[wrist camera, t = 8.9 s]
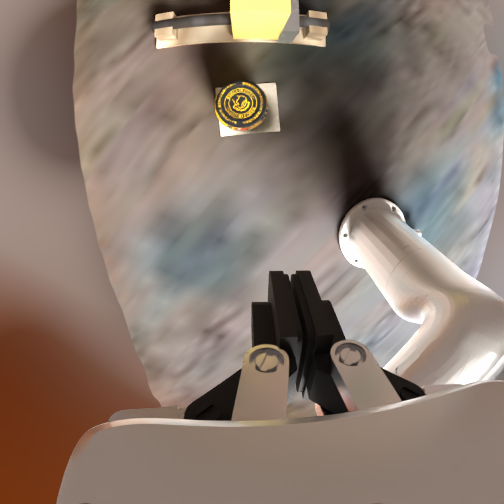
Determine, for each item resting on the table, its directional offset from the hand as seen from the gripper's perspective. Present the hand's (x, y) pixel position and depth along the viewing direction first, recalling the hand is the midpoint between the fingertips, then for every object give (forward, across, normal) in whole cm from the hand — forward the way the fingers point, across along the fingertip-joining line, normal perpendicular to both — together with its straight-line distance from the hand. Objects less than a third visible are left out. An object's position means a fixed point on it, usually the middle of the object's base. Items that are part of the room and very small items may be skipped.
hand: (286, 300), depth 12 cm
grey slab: (+32, -4, -22) cm, 39 cm away
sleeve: (+30, 0, -22) cm, 37 cm away
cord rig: (+32, +2, -22) cm, 39 cm away
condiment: (+32, +1, -9) cm, 33 cm away
